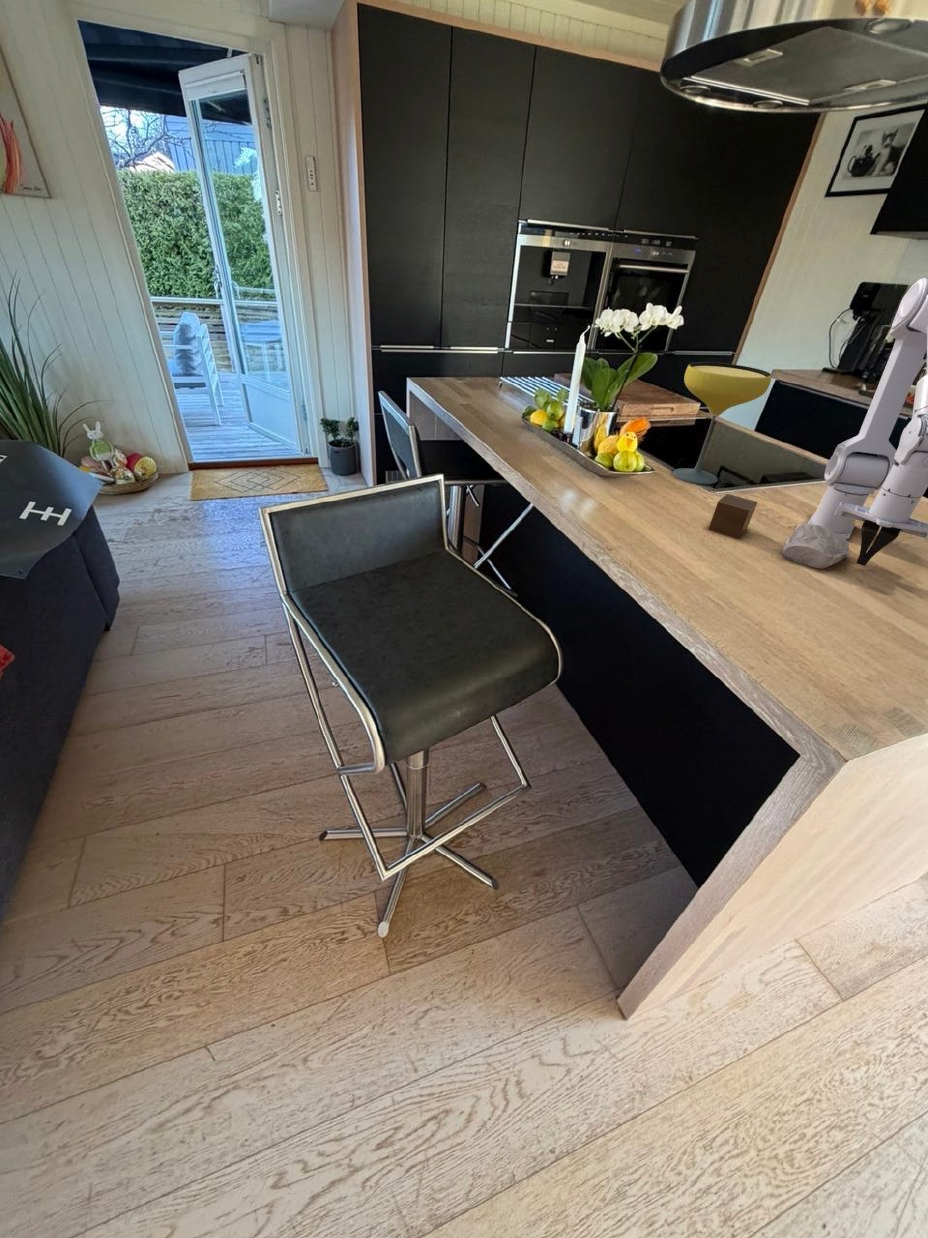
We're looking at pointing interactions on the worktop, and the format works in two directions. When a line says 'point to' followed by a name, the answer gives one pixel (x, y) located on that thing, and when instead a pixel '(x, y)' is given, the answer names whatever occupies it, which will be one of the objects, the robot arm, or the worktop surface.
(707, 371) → the cocktail glass
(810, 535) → the grey rock
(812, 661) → the worktop surface
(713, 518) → the walnut cube
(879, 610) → the worktop surface
